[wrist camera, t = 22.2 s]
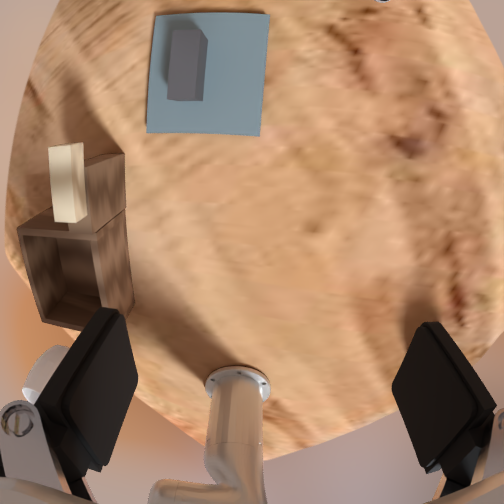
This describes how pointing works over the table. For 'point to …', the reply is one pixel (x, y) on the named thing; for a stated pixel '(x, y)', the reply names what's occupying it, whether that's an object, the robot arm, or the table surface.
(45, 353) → the cup
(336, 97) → the table surface
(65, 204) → the cream rectangular block
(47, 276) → the brown wooden open box
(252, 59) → the grey piece
